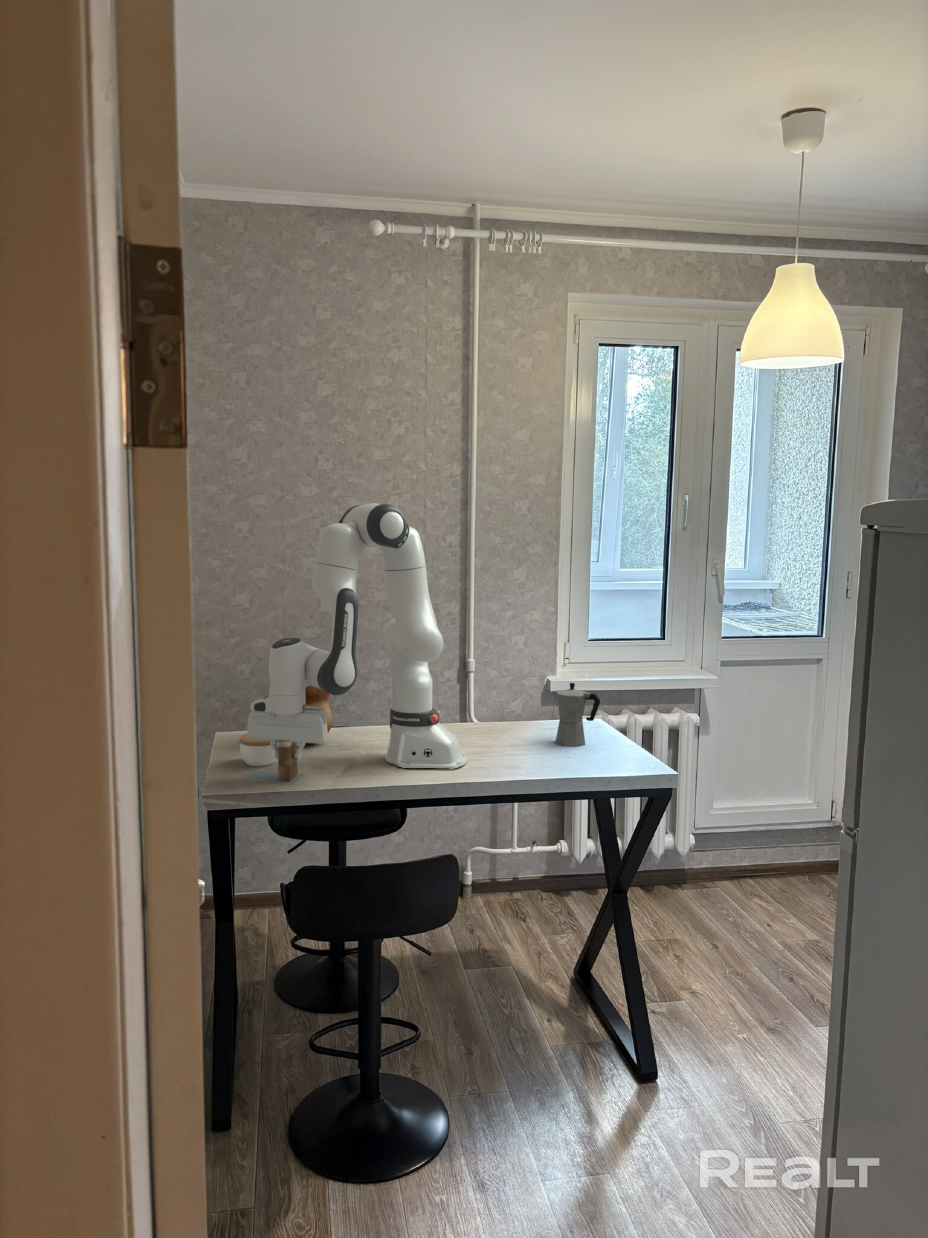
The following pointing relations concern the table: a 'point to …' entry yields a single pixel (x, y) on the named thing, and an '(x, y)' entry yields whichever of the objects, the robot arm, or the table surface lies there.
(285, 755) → the brown and white block
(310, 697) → the butternut squash
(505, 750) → the table surface
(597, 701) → the coffeepot
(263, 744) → the lidded jar
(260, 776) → the slate mat
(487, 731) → the table surface
